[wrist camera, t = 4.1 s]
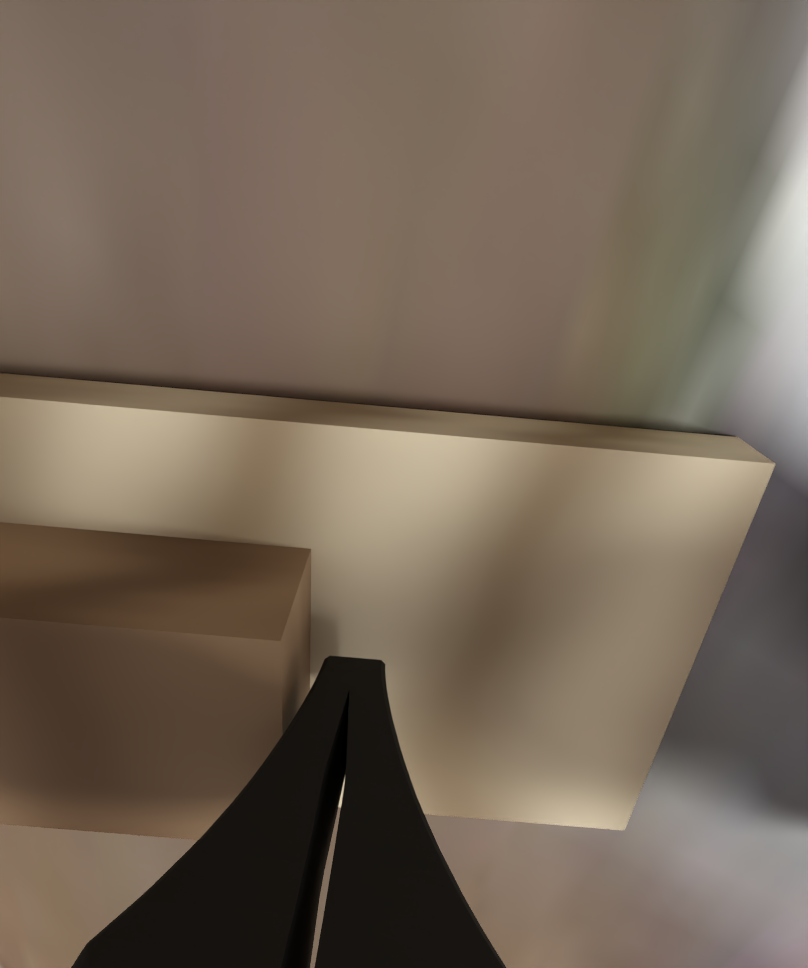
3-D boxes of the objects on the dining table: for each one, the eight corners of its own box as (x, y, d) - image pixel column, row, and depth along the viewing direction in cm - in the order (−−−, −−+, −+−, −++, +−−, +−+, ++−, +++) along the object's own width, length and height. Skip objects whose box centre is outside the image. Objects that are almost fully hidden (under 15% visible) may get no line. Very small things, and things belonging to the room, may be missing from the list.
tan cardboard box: (311, 548, 12) (280, 640, 10) (309, 733, 15) (284, 846, 12) (-46, 518, 12) (-176, 603, 10) (15, 709, 15) (-73, 817, 12)
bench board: (737, 436, 13) (775, 463, 11) (609, 783, 18) (624, 830, 16) (-236, 352, 12) (-316, 369, 11) (-75, 727, 18) (-116, 770, 16)
